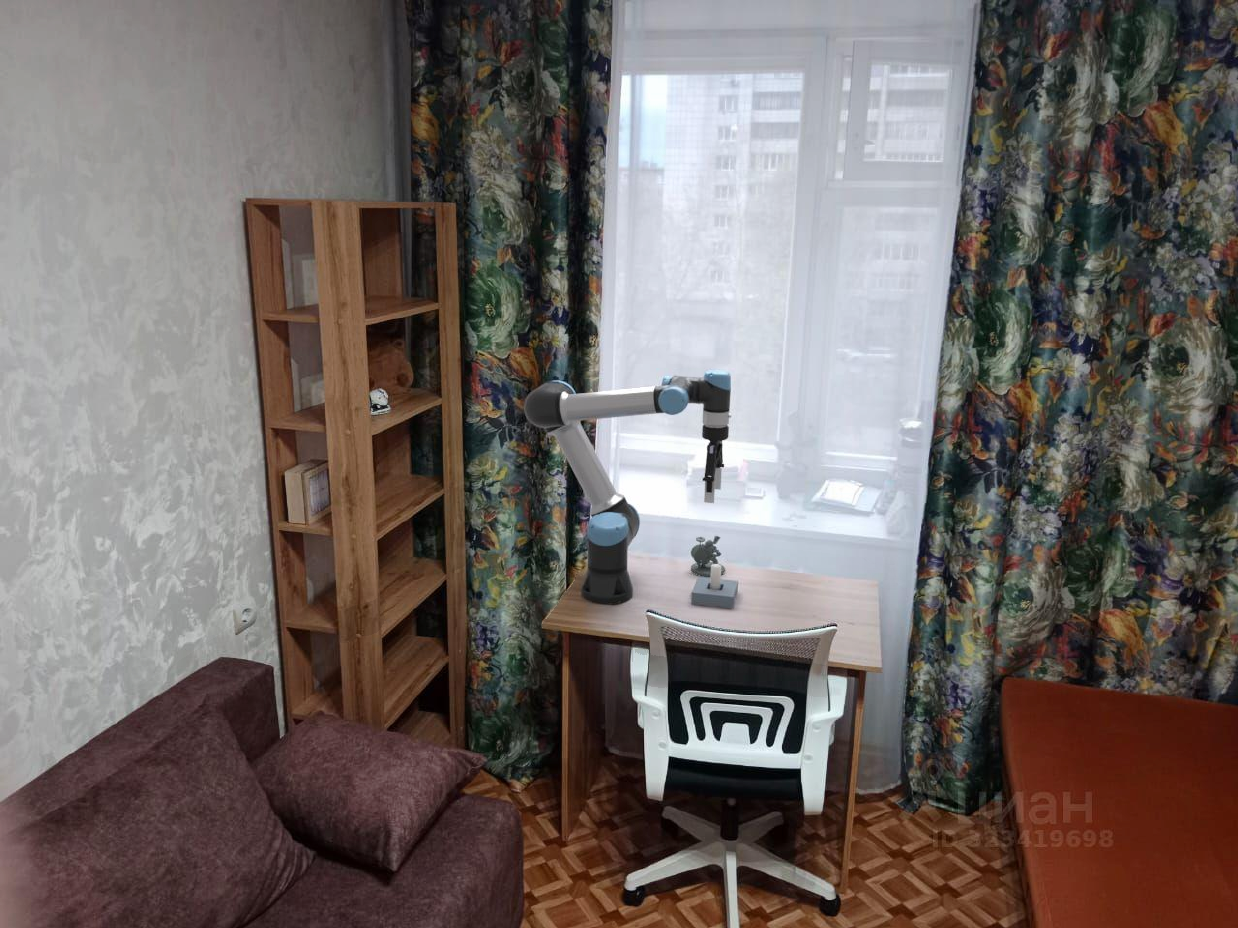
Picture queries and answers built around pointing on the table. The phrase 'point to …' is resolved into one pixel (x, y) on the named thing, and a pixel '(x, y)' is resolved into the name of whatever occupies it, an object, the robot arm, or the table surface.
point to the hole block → (714, 593)
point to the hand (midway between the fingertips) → (712, 495)
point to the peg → (715, 577)
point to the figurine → (705, 557)
